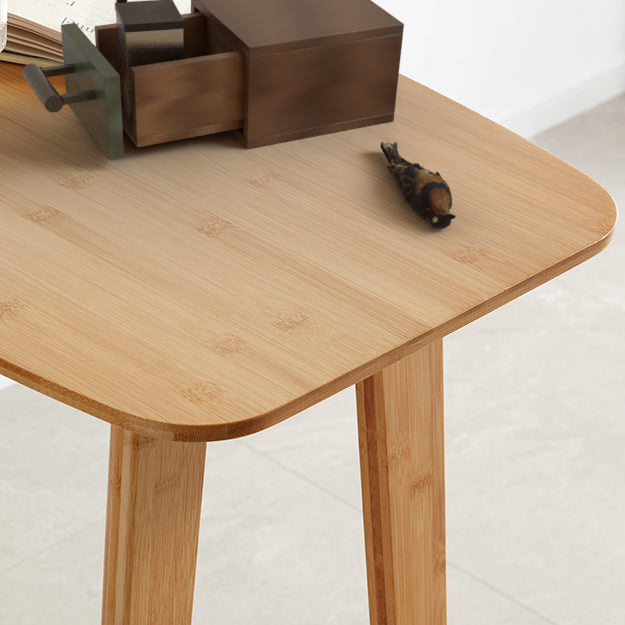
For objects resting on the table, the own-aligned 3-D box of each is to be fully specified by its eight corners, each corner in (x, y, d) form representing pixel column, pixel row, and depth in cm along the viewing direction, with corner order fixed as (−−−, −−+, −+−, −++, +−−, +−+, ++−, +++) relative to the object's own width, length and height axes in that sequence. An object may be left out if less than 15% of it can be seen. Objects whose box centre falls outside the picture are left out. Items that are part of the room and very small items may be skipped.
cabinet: (247, 149, 90) (249, 47, 85) (191, 89, 98) (190, -7, 93) (393, 121, 96) (404, 23, 90) (329, 66, 104) (335, -26, 99)
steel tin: (185, 117, 90) (184, 21, 85) (128, 122, 88) (124, 24, 84) (174, 93, 93) (172, -2, 88) (119, 97, 92) (114, 2, 87)
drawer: (58, 170, 84) (51, 85, 80) (19, 111, 91) (11, 30, 87) (258, 133, 91) (261, 53, 87) (207, 80, 98) (207, 4, 94)
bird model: (424, 243, 80) (428, 211, 79) (371, 152, 91) (374, 122, 89) (466, 239, 81) (471, 207, 80) (409, 150, 92) (412, 120, 90)
